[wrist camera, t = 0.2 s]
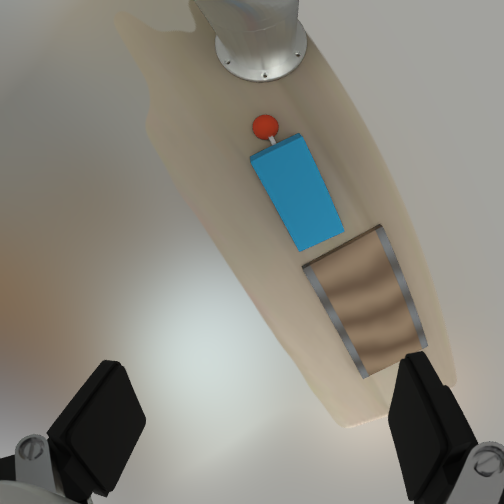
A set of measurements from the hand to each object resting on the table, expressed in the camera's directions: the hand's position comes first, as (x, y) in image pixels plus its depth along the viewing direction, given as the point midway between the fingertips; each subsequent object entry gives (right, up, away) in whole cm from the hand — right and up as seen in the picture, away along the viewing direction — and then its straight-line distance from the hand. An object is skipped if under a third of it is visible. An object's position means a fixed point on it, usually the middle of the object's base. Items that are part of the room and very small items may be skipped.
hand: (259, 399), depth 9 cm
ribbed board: (+19, -4, +37) cm, 42 cm away
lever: (+5, +15, +33) cm, 37 cm away
